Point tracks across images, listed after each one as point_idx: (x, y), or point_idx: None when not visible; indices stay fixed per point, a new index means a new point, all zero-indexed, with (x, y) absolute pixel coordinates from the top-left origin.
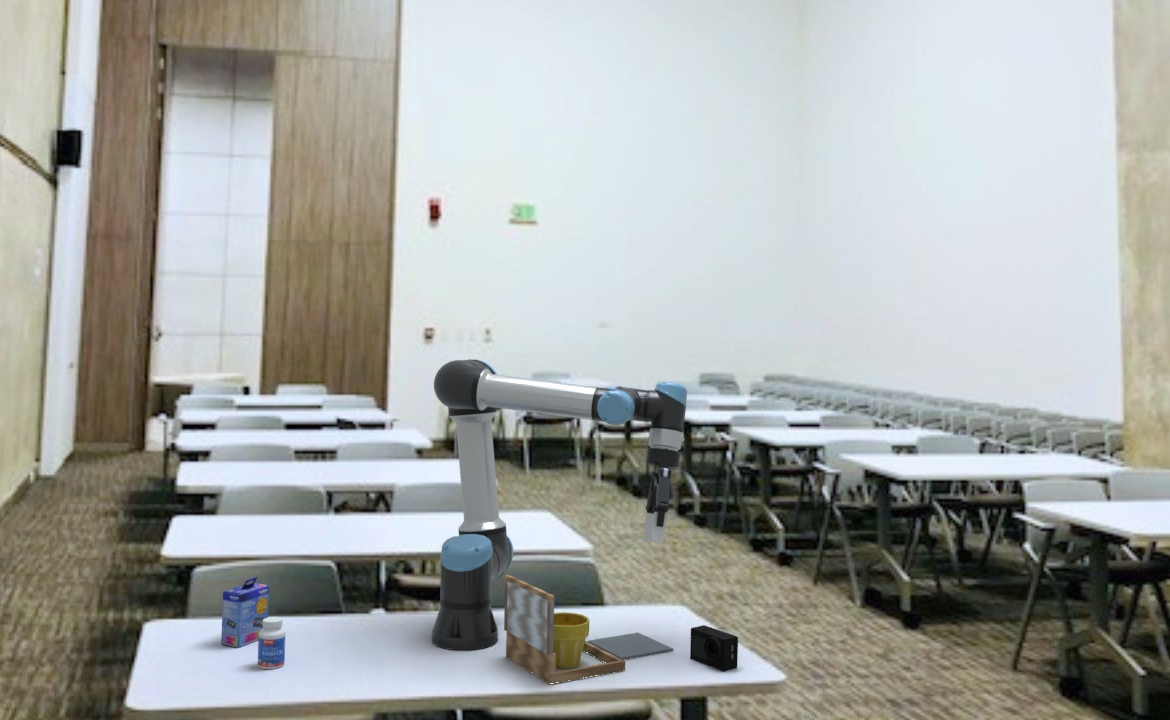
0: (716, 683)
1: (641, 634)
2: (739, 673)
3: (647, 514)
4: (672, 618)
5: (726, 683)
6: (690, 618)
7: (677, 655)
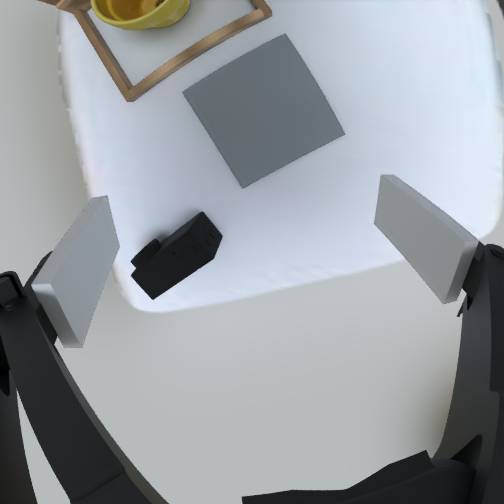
0: None
1: (331, 139)
2: None
3: (458, 241)
4: None
5: None
6: None
7: (219, 192)
